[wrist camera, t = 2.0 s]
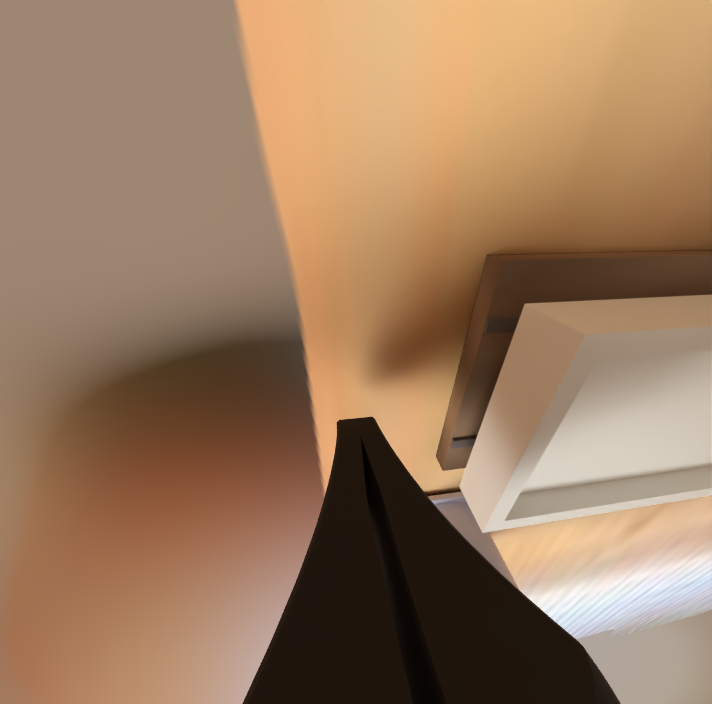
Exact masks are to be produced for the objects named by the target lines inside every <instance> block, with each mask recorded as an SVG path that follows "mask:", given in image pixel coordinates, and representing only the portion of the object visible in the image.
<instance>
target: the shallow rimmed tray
mask: <svg viewBox="0 0 712 704" xmlns="http://www.w3.org/2000/svg"><path fill="white" fill-rule="evenodd" d="M459 487H460V489H461V491H462V493H463V495H464V497H465V499H466V501H467V503H468V505H469V507H470V509H471V511H472V513H473V515H474V517H475V519H476V521H477V523H478V525H479V527H480V529H481V531H482V533H485V532H491V531H498V530H504V529H510V528H516V527H522V526H528V525H534V524H540V523H547V522H553V521H559V520H565V519H571V518H577V517H583V516H589V515H596V514H602V513H608V512H614V511H620V510H626V509H632V508H638V507H645V506H651V505H657V504H663V503H669V502H675V501H681V500H688V499H694V498H700V497H706V496H712V295H693V296H672V297H652V298H631V299H610V300H589V301H569V302H548V303H527V304H524V307H523V310H522V313H521V316H520V318H519V321H518V324H517V327H516V329H515V332H514V335H513V338H512V341H511V343H510V346H509V349H508V352H507V355H506V357H505V360H504V363H503V366H502V368H501V371H500V374H499V377H498V380H497V382H496V385H495V388H494V391H493V393H492V396H491V399H490V402H489V405H488V407H487V410H486V413H485V416H484V419H483V421H482V424H481V427H480V430H479V432H478V435H477V438H476V441H475V444H474V446H473V449H472V452H471V455H470V457H469V460H468V463H467V466H466V469H465V471H464V474H463V477H462V480H461V483H460V485H459Z"/></svg>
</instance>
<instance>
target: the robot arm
mask: <svg viewBox="0 0 712 704" xmlns="http://www.w3.org/2000/svg"><path fill="white" fill-rule="evenodd" d="M243 704H620V702H619V700H618V699H617V697H616V695H615V694H614V692H613V690H612V689H611V687H610V685H609V684H608V682H607V681H606V679H605V678H604V676H603V675H602V673H601V672H600V670H599V669H598V667H597V666H596V664H595V663H594V662H593V660H592V659H591V657H590V656H589V655H588V653H587V652H586V650H585V649H584V647H583V646H582V645H581V644H580V643H579V642H578V641H577V640H576V639H575V638H574V637H572V636H571V635H570V634H569V633H568V632H566V631H565V630H564V629H563V628H562V627H561V626H559V625H558V624H557V623H556V622H555V621H554V620H552V619H551V618H550V617H549V616H548V615H547V614H545V613H544V612H543V611H542V610H541V609H540V608H539V607H537V606H536V605H535V604H534V603H533V602H532V601H531V600H529V599H528V598H527V597H526V596H525V595H524V594H523V593H522V592H521V591H520V590H519V589H518V587H517V585H516V583H515V581H514V579H513V577H512V575H511V573H510V571H509V569H508V568H507V566H506V564H505V562H504V560H503V558H502V556H501V554H500V552H499V550H498V548H497V546H496V545H495V543H494V541H493V539H492V537H491V535H490V533H489V532H485V533H482V531H481V529H480V527H479V525H478V523H477V521H476V519H475V517H474V515H473V513H472V511H471V509H470V507H469V505H468V503H467V501H466V499H465V497H464V495H463V493H462V492H454V493H447V494H440V495H433V496H427V495H426V494H425V493H424V491H423V490H422V489H421V488H420V486H419V485H418V484H417V482H416V481H415V480H414V479H413V477H412V476H411V475H410V473H409V472H408V471H407V469H406V468H405V466H404V465H403V464H402V462H401V461H400V459H399V458H398V457H397V455H396V454H395V452H394V451H393V449H392V448H391V446H390V444H389V443H388V441H387V440H386V438H385V436H384V435H383V433H382V431H381V430H380V428H379V426H378V424H377V422H376V420H375V419H374V418H373V417H365V418H355V419H345V420H339V421H338V422H337V440H336V448H335V455H334V460H333V465H332V470H331V475H330V479H329V483H328V487H327V490H326V494H325V498H324V502H323V505H322V509H321V512H320V515H319V518H318V522H317V525H316V528H315V531H314V534H313V537H312V540H311V542H310V545H309V548H308V551H307V554H306V556H305V559H304V562H303V564H302V567H301V570H300V573H299V575H298V578H297V580H296V583H295V585H294V588H293V590H292V593H291V595H290V597H289V600H288V602H287V605H286V607H285V609H284V612H283V614H282V617H281V619H280V621H279V624H278V626H277V629H276V631H275V633H274V636H273V638H272V640H271V643H270V645H269V647H268V649H267V652H266V654H265V656H264V658H263V660H262V662H261V665H260V667H259V669H258V671H257V673H256V675H255V678H254V680H253V682H252V684H251V687H250V689H249V691H248V693H247V695H246V697H245V699H244V702H243Z"/></svg>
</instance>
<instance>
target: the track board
mask: <svg viewBox="0 0 712 704" xmlns="http://www.w3.org/2000/svg"><path fill="white" fill-rule="evenodd" d="M693 295H712V250H691V251H646V252H602V253H558V254H514V255H487V258H486V262H485V266H484V270H483V274H482V278H481V282H480V286H479V290H478V294H477V297H476V301H475V305H474V309H473V313H472V317H471V321H470V325H469V329H468V333H467V337H466V341H465V345H464V348H463V352H462V356H461V360H460V364H459V368H458V372H457V376H456V380H455V384H454V388H453V392H452V395H451V399H450V403H449V407H448V411H447V415H446V419H445V423H444V427H443V431H442V435H441V439H440V442H439V446H438V450H437V454H436V457H437V460H438V462H439V464H440V466H441V468H442V470H443V471H444V470H452V469H460V468H466V466H467V463H468V460H469V457H470V455H471V452H472V449H473V446H474V444H475V441H476V438H477V435H478V432H479V430H480V427H481V424H482V421H483V419H484V416H485V413H486V410H487V407H488V405H489V402H490V399H491V396H492V393H493V391H494V388H495V385H496V382H497V380H498V377H499V374H500V371H501V368H502V366H503V363H504V360H505V357H506V355H507V352H508V349H509V346H510V343H511V341H512V338H513V335H514V332H515V329H516V327H517V324H518V321H519V318H520V316H521V313H522V310H523V307H524V304H527V303H548V302H569V301H589V300H610V299H631V298H652V297H672V296H693Z"/></svg>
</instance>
